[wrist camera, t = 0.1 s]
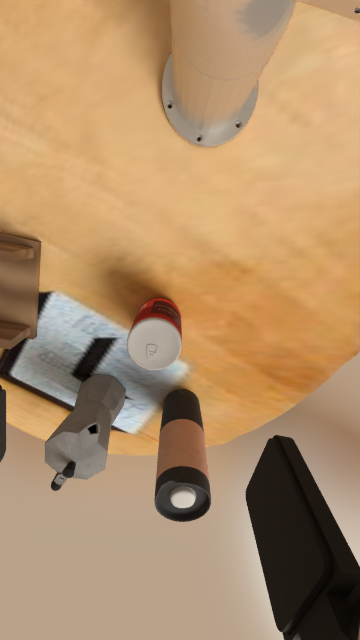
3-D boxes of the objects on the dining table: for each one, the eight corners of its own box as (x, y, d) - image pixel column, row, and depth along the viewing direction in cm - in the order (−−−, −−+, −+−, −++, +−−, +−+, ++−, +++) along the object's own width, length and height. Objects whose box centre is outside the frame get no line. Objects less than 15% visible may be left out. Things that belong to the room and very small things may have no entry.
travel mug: (196, 421, 55) (205, 525, 36) (159, 416, 54) (149, 519, 36) (204, 391, 52) (218, 486, 34) (165, 385, 52) (158, 478, 33)
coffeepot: (96, 356, 50) (54, 427, 33) (140, 380, 51) (121, 458, 35) (63, 413, 54) (10, 500, 37) (104, 432, 56) (72, 524, 39)
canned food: (140, 339, 48) (129, 372, 38) (135, 297, 46) (122, 320, 35) (182, 337, 48) (183, 369, 38) (180, 295, 45) (180, 317, 35)
